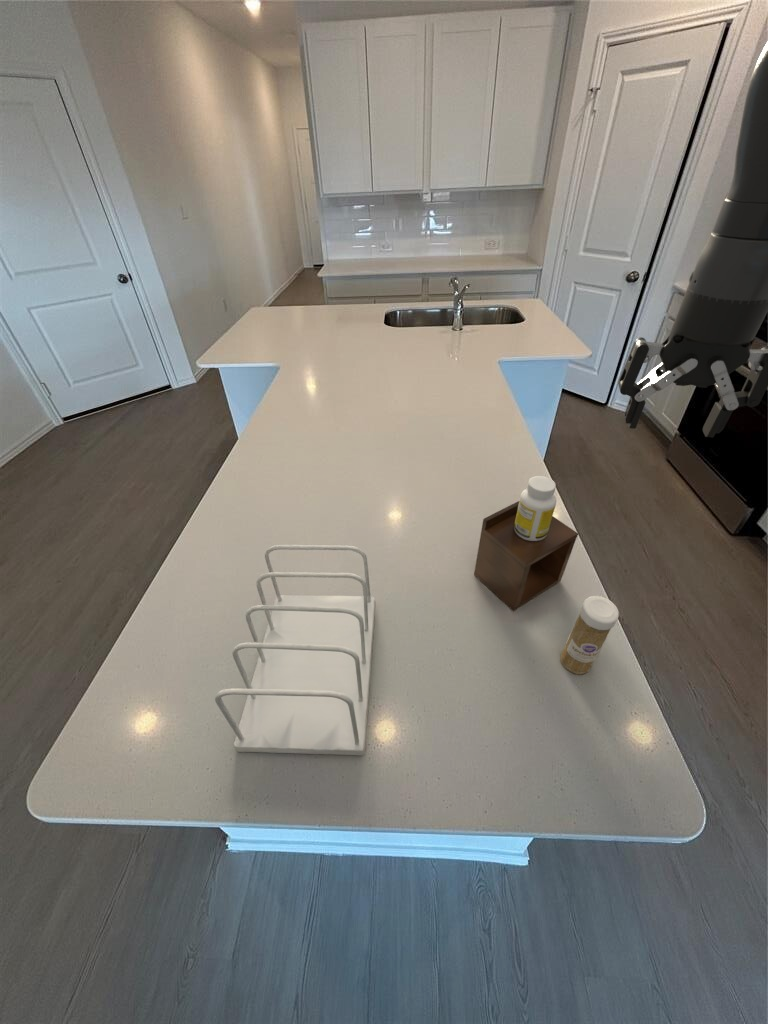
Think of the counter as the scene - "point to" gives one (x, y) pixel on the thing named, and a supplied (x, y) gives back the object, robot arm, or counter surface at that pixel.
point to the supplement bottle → (535, 509)
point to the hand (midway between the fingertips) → (668, 429)
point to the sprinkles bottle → (589, 634)
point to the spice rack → (521, 558)
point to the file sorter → (307, 669)
